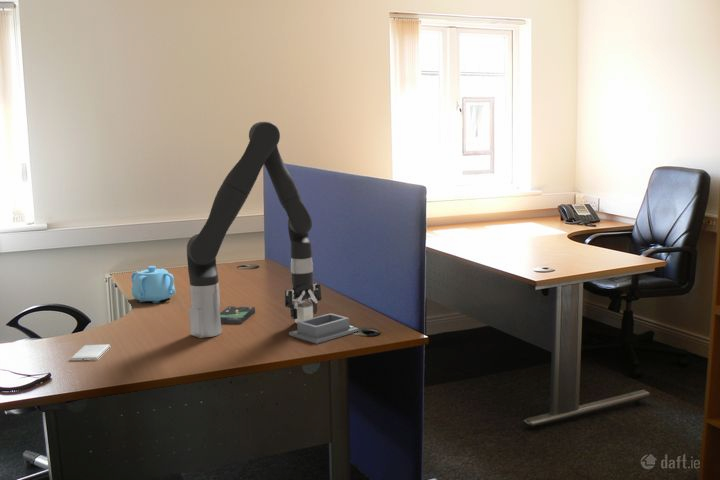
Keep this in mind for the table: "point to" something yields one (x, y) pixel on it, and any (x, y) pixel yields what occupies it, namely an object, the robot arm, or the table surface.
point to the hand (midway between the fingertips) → (304, 316)
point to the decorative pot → (152, 285)
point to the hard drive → (90, 352)
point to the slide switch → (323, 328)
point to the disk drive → (236, 314)
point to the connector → (304, 311)
